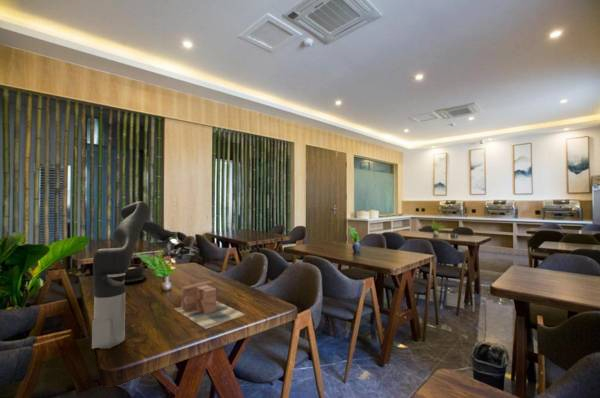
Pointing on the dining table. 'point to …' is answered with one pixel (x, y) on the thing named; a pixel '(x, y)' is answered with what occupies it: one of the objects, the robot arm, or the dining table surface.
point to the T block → (199, 297)
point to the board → (211, 315)
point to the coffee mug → (118, 277)
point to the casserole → (134, 273)
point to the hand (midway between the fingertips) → (189, 256)
